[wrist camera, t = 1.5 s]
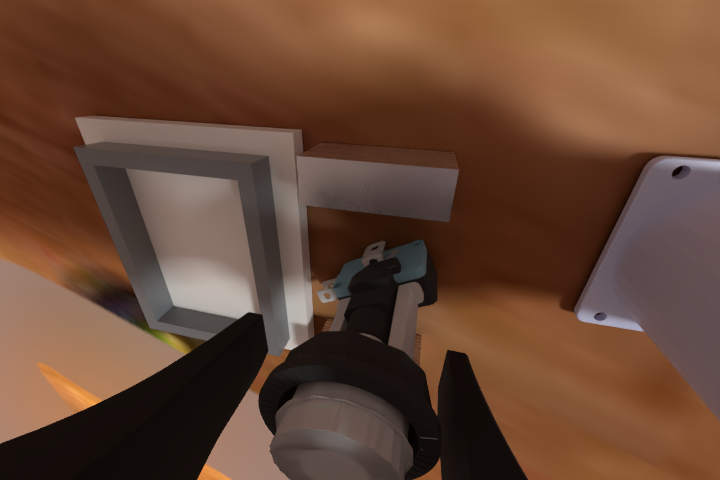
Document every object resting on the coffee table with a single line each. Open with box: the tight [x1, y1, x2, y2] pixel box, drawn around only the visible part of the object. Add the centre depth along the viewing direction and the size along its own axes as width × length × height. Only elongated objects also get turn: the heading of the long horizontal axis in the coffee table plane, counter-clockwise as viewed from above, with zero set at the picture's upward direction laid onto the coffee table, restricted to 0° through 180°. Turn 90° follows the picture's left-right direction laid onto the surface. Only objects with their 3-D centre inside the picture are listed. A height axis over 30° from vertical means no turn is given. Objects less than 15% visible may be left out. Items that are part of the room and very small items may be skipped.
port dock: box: [73, 116, 314, 357], centre depth 17 cm, size 12×14×2 cm
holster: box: [296, 142, 459, 367], centre depth 15 cm, size 6×13×3 cm, turn 178°
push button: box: [258, 240, 441, 480], centre depth 12 cm, size 7×5×10 cm
